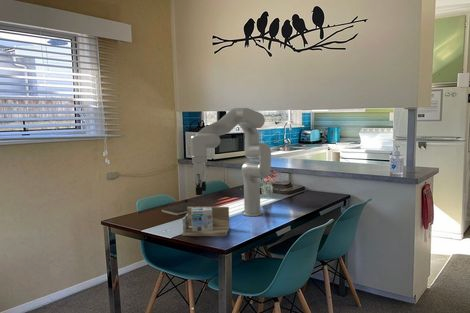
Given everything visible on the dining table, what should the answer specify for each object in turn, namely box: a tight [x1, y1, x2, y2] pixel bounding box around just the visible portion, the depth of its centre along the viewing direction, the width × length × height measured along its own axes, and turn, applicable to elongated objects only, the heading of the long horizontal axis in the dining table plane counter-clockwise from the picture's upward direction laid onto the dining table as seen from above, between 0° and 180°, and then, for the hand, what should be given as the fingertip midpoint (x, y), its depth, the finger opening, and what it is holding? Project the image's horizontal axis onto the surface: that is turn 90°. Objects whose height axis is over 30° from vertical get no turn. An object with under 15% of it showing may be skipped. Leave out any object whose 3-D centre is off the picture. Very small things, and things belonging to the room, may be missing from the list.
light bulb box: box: [192, 206, 213, 232], centre depth 211 cm, size 11×7×11 cm, turn 99°
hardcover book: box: [160, 202, 206, 216], centre depth 261 cm, size 16×23×2 cm
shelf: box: [181, 206, 230, 237], centre depth 212 cm, size 14×22×12 cm, turn 83°
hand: (201, 192), depth 210 cm, fingers open, 9 cm apart
